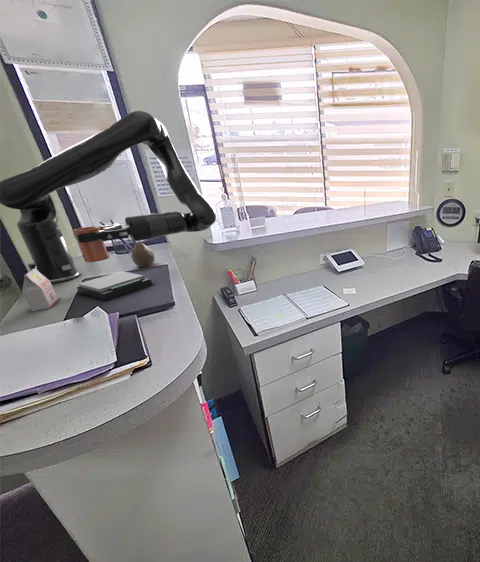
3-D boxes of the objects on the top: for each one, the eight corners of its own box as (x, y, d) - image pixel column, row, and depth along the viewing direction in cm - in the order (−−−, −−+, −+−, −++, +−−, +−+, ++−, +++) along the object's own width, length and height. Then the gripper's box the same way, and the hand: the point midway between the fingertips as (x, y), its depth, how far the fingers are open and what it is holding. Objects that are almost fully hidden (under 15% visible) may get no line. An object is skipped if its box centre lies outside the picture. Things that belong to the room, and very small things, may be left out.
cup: (81, 261, 88) (68, 229, 84) (103, 255, 92) (92, 226, 89) (91, 263, 86) (78, 231, 82) (113, 257, 90) (102, 227, 87)
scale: (78, 293, 94) (75, 283, 93) (125, 278, 105) (122, 270, 104) (105, 300, 88) (102, 291, 87) (152, 284, 99) (149, 275, 98)
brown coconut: (145, 269, 114) (138, 246, 111) (130, 268, 116) (122, 245, 112) (161, 263, 121) (154, 241, 117) (146, 262, 122) (139, 240, 119)
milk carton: (31, 311, 83) (14, 276, 79) (40, 302, 88) (25, 269, 85) (50, 307, 85) (34, 273, 81) (58, 299, 90) (43, 267, 86)
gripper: (137, 212, 99) (66, 221, 87) (151, 216, 91) (74, 226, 79) (144, 235, 102) (77, 246, 90) (158, 241, 93) (86, 254, 81)
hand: (76, 237), depth 85 cm, fingers closed on cup, 5 cm apart
